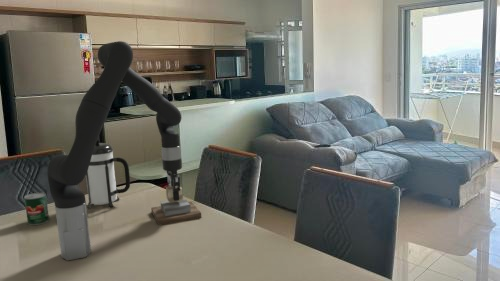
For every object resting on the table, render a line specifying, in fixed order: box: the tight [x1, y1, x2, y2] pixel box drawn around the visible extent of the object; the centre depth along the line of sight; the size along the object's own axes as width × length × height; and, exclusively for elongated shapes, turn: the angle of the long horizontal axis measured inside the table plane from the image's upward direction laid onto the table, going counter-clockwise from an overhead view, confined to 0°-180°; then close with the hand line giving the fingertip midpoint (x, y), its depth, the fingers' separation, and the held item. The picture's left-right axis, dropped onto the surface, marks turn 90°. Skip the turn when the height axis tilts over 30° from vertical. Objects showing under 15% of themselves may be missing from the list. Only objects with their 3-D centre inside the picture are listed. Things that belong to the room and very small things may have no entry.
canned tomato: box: [23, 192, 50, 226], centre depth 173 cm, size 8×8×11 cm
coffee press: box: [85, 138, 131, 210], centre depth 190 cm, size 17×16×30 cm
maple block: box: [165, 185, 184, 203], centre depth 174 cm, size 6×6×6 cm
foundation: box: [151, 197, 202, 226], centre depth 175 cm, size 16×17×5 cm
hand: (174, 198), depth 174 cm, fingers closed on maple block, 5 cm apart
